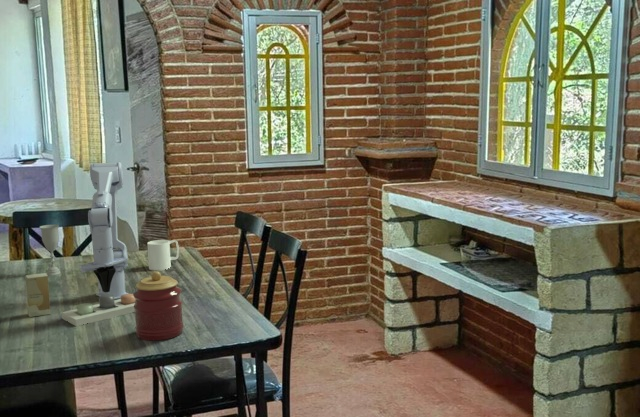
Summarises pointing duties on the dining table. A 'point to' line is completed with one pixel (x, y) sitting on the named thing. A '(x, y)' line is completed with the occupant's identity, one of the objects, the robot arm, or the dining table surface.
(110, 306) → the charcoal button
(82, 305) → the sage button
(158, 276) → the canister
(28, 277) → the skincare box
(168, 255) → the cup
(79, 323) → the panel
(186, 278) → the dining table surface
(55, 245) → the chalice
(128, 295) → the terracotta button
